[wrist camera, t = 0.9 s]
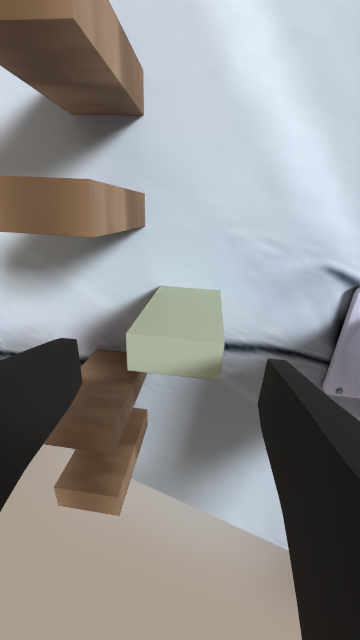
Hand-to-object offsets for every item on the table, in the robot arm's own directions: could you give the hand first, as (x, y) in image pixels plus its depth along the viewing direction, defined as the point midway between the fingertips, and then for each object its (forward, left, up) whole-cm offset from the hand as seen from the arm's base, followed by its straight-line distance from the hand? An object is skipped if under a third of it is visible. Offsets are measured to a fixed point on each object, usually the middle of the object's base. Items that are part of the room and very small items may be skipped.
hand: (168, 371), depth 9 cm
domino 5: (0, 0, -8) cm, 8 cm away
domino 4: (+5, +11, -8) cm, 15 cm away
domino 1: (+5, -11, -8) cm, 15 cm away
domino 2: (+5, -5, -8) cm, 11 cm away
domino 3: (+5, +6, -8) cm, 11 cm away
